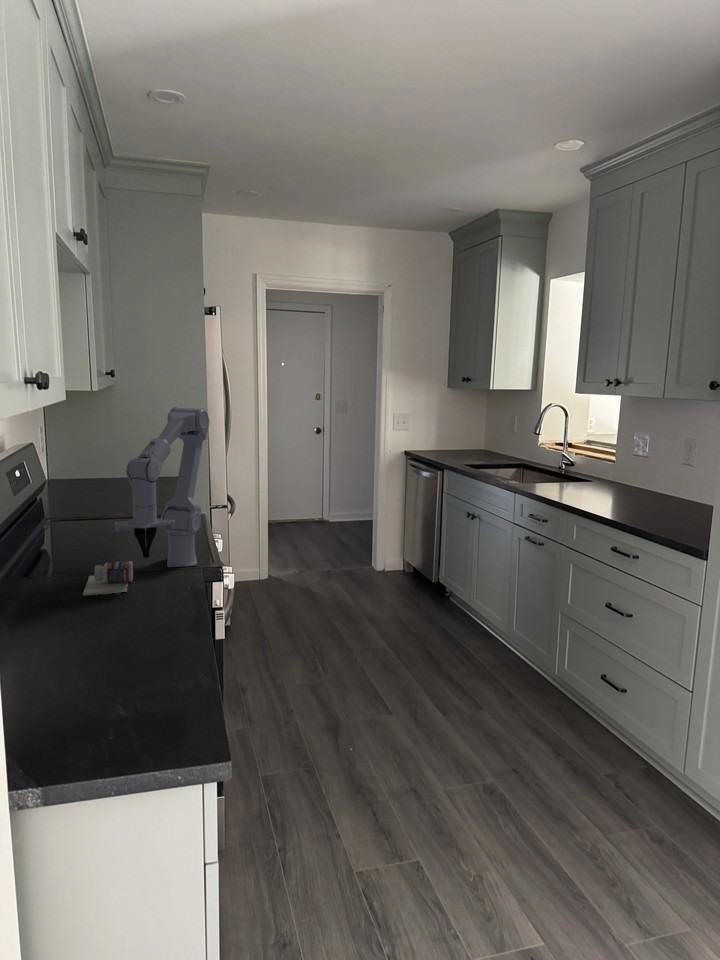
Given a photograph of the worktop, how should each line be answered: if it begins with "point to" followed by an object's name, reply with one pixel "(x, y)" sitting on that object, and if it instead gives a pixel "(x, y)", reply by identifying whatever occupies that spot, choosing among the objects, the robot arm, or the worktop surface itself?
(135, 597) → the worktop surface
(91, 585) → the mat
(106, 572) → the pill bottle
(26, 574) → the worktop surface
